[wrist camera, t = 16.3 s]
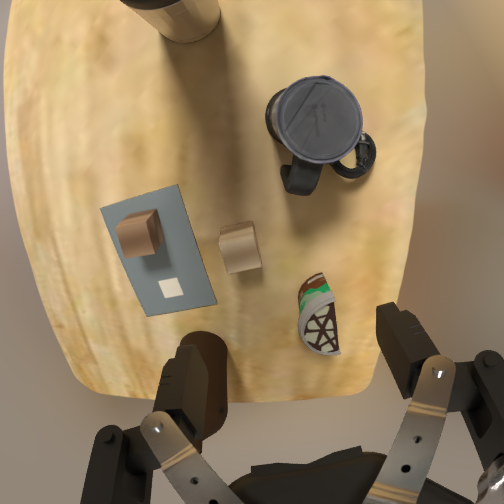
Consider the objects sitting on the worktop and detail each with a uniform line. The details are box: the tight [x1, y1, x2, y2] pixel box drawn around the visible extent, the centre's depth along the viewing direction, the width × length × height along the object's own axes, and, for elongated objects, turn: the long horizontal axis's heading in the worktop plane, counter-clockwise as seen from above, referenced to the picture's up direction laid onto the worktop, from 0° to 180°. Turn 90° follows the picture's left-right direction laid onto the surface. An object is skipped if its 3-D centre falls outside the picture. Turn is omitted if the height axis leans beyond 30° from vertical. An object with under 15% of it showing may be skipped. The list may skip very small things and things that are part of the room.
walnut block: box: [115, 208, 165, 258], centre depth 46 cm, size 5×5×6 cm
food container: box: [298, 272, 341, 355], centre depth 51 cm, size 12×6×10 cm, turn 14°
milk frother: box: [265, 75, 376, 196], centre depth 36 cm, size 14×16×15 cm
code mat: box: [100, 184, 217, 316], centre depth 51 cm, size 22×14×1 cm, turn 13°
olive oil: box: [180, 331, 228, 454], centre depth 49 cm, size 11×11×25 cm
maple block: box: [219, 221, 261, 274], centre depth 48 cm, size 5×5×6 cm
